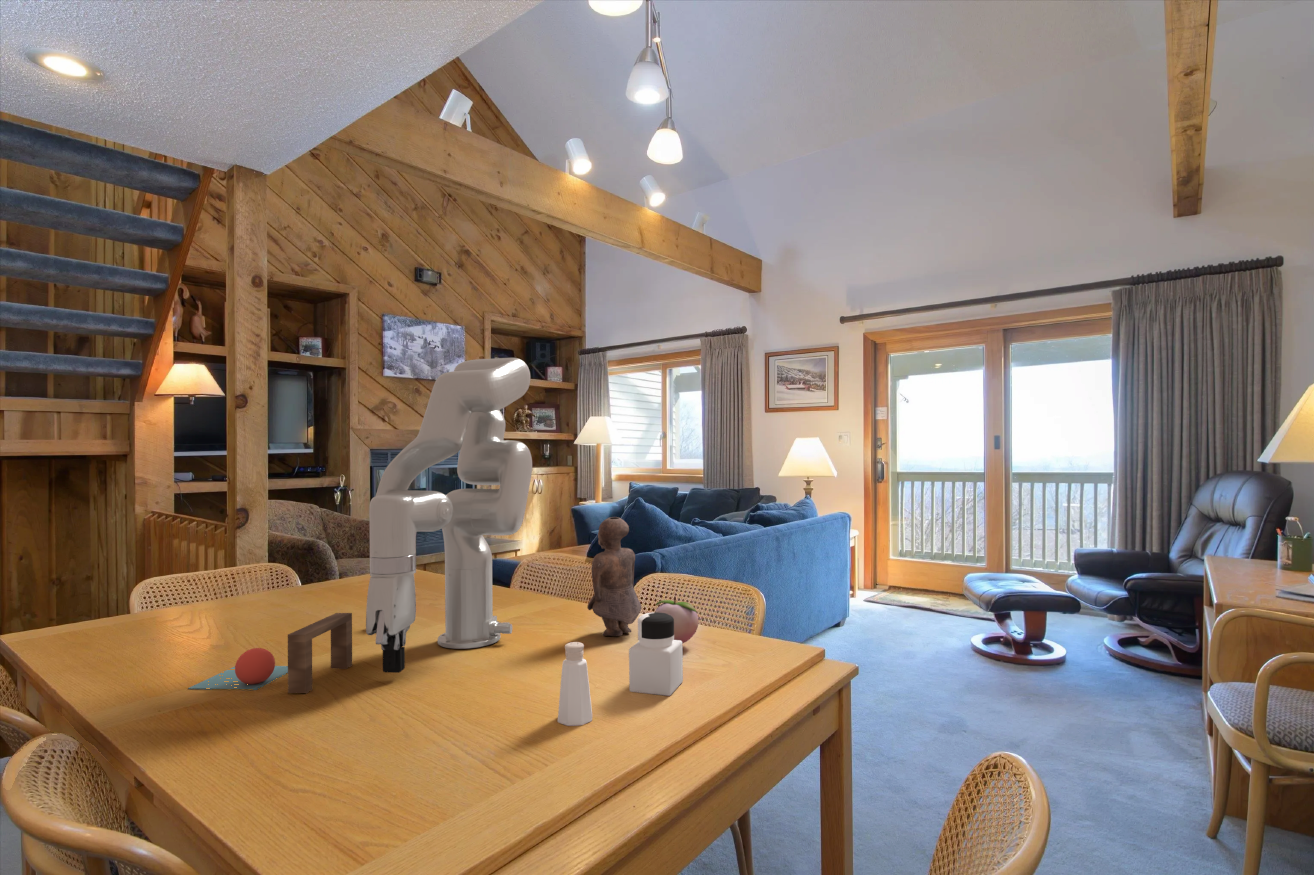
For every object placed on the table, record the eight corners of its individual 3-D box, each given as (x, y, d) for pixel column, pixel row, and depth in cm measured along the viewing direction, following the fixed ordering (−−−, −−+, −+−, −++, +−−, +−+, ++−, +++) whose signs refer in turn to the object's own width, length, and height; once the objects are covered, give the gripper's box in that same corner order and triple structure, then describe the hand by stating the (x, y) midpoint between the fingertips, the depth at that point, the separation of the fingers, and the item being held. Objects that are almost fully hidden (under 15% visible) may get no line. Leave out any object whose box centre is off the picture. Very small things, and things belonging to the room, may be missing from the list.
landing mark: (298, 667, 128) (298, 666, 128) (256, 690, 116) (256, 688, 116) (236, 666, 128) (236, 665, 128) (188, 689, 116) (188, 687, 116)
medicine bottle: (683, 682, 117) (682, 611, 117) (670, 696, 110) (669, 621, 110) (643, 678, 119) (643, 608, 119) (628, 692, 113) (627, 618, 113)
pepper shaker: (563, 729, 98) (563, 651, 98) (551, 716, 103) (550, 642, 103) (599, 721, 100) (598, 645, 101) (585, 709, 105) (584, 637, 105)
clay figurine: (616, 624, 156) (615, 513, 156) (652, 630, 150) (651, 515, 150) (578, 637, 145) (577, 518, 145) (615, 645, 139) (614, 521, 140)
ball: (264, 635, 122) (237, 657, 121) (248, 648, 116) (220, 671, 115) (288, 660, 122) (261, 682, 122) (273, 674, 117) (245, 697, 116)
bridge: (352, 665, 128) (351, 612, 129) (305, 693, 113) (305, 634, 114) (336, 664, 129) (336, 612, 129) (287, 693, 114) (287, 634, 114)
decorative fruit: (645, 650, 135) (644, 599, 136) (660, 639, 143) (660, 591, 143) (690, 655, 132) (689, 602, 132) (703, 643, 140) (703, 594, 140)
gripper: (391, 558, 128) (392, 657, 128) (350, 573, 113) (350, 685, 113) (431, 558, 128) (431, 658, 127) (394, 573, 113) (395, 686, 112)
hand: (393, 670), depth 120 cm, fingers closed
